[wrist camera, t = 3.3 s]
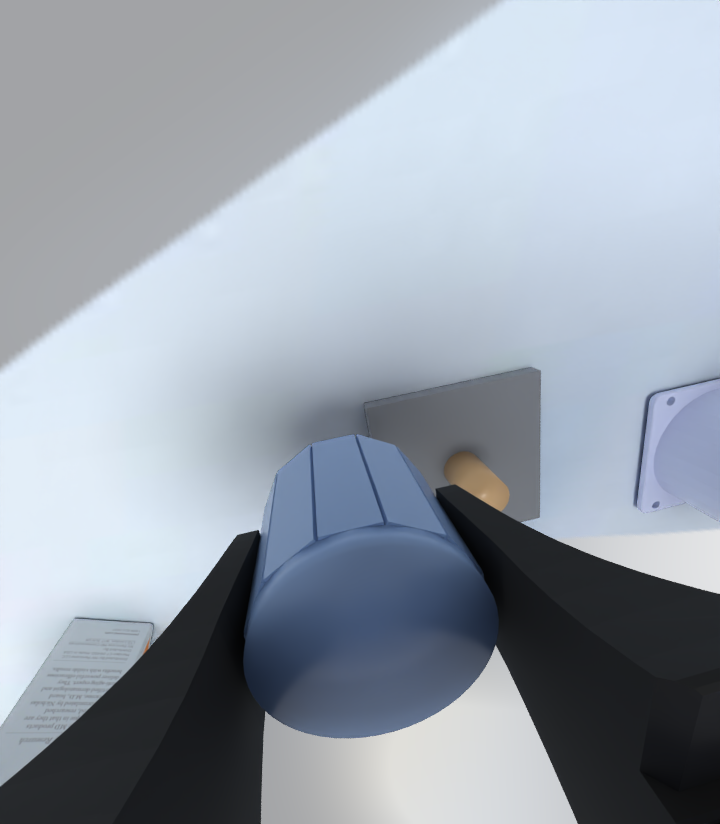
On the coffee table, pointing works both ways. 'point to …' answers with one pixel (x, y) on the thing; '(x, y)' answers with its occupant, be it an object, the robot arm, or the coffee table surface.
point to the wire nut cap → (362, 596)
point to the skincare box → (69, 686)
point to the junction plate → (471, 437)
